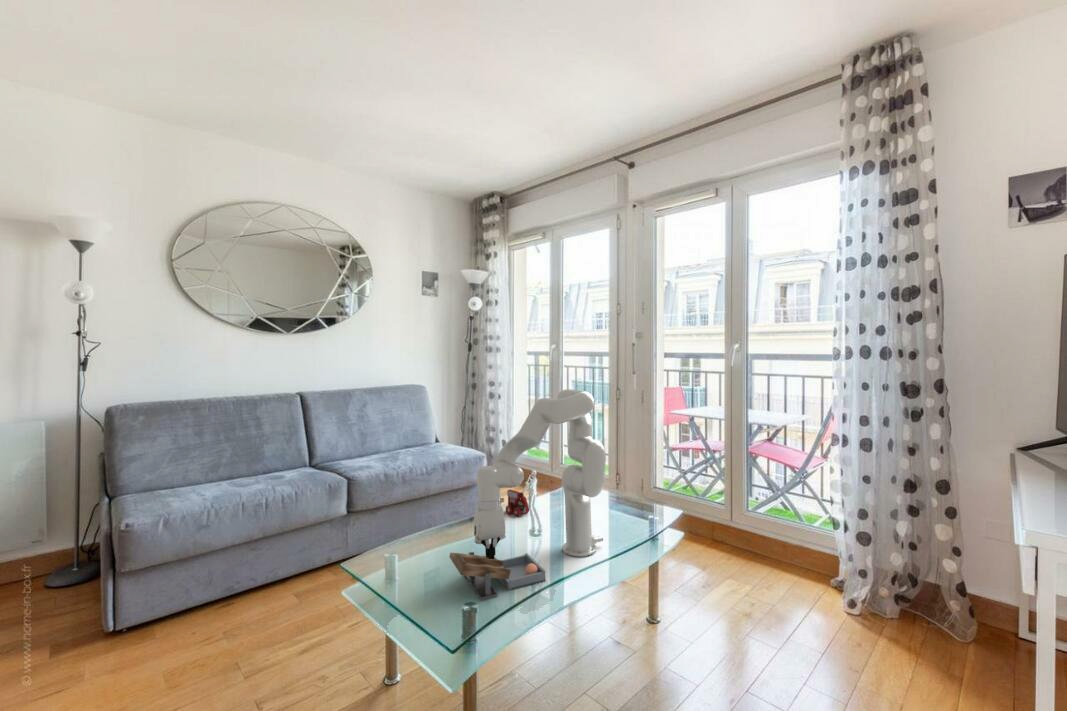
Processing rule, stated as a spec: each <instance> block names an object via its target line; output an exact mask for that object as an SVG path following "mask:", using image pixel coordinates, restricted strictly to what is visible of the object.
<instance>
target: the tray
mask: <svg viewBox="0 0 1067 711" xmlns="http://www.w3.org/2000/svg"><path fill="white" fill-rule="evenodd" d="M502 560H503V567H504V568H510V569H511V571H510V576H509V579H502V578H498V579H499V580H500V582H501V583H502V584H503V585H504V587H506V589H507V590H508V591H513V590H517V589H521V588H524V587H529V586H532V585H537V584H540V583H539V582H541V583H543V581H544V582H546V580H547V579H546V578H547V577H546V570H545V568H544V567H543V566H542V565H540V564H539V563H538V562H537V561H536V560H535V559H534V558H533V557H532V556H530V555H529V553H528V552H526V553H524V554H523V555H519V556H515V557H511V558H506V559H505V558H504V559H502ZM531 563H533V564H535V565H536V566H537V569H538V571H537V573H534V574H530V575H527V574H526V567H527V565H528V564H531ZM536 583H537V584H536Z"/></svg>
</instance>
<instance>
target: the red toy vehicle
mask: <svg viewBox="0 0 1067 711" xmlns="http://www.w3.org/2000/svg"><path fill="white" fill-rule="evenodd" d="M506 493H507V494H506V495H507V505H506V507H505V513H506V514H507V515H512V514H513V515H514V517H516V518H519V517H521V515H522V514H525V515H526V514H529V512H530V508H529V507H530V506H529V503H528V501H527V498H526V496H525V493H524V492H523V491H517V490H513V489H507V492H506Z"/></svg>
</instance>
